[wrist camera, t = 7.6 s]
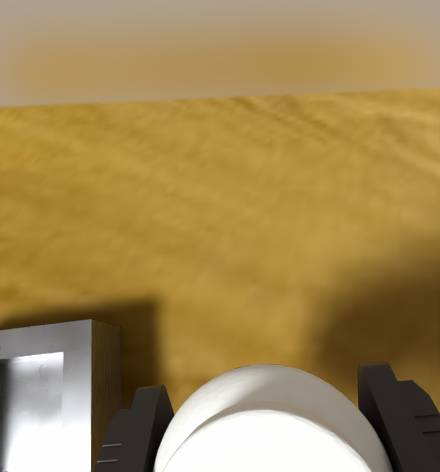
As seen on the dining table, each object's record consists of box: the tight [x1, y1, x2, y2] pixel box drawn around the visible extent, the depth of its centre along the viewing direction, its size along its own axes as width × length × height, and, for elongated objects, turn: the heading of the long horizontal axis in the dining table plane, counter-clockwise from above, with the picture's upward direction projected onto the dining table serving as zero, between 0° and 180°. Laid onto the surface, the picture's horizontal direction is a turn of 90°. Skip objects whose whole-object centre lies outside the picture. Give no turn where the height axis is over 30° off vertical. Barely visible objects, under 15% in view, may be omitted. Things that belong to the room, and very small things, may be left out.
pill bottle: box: [153, 364, 394, 472], centre depth 10 cm, size 5×5×10 cm
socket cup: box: [0, 319, 122, 472], centre depth 21 cm, size 10×10×4 cm
